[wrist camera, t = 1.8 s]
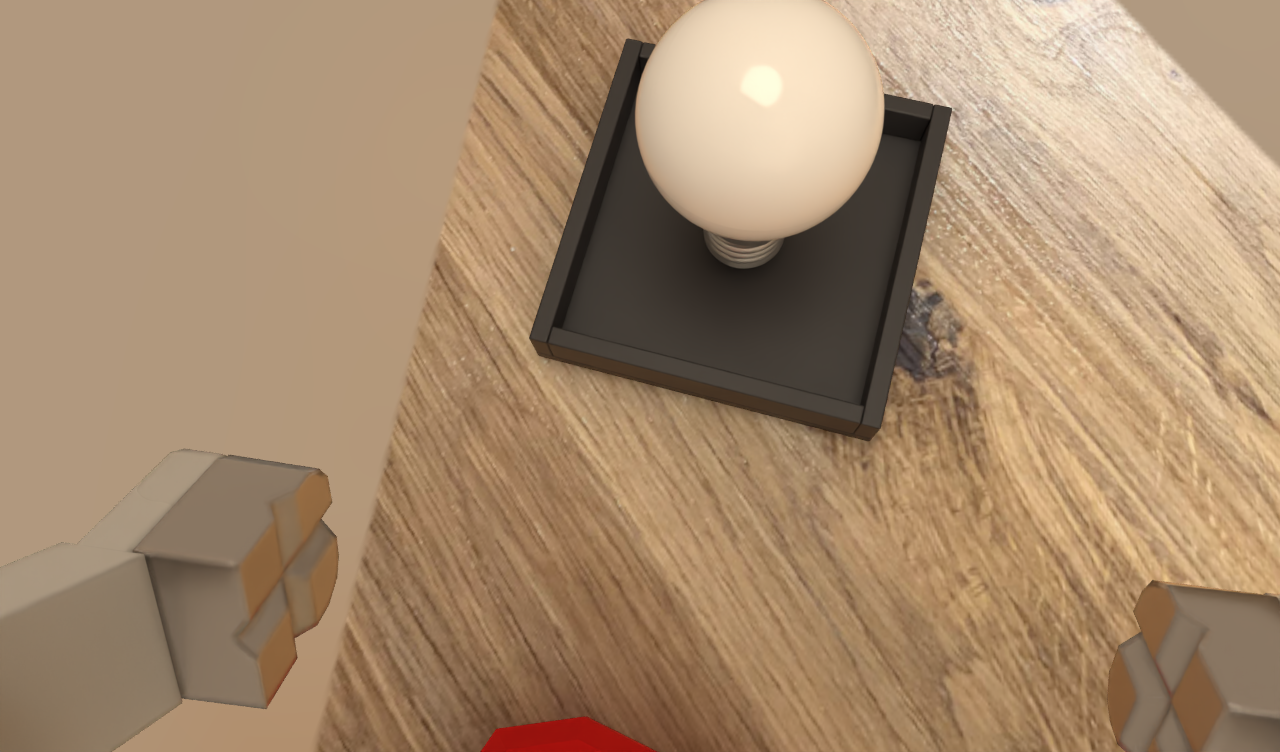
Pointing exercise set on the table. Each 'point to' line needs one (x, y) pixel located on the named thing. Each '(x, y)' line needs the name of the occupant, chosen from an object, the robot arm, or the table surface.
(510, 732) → the heart
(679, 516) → the table surface
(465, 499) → the table surface
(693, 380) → the tray
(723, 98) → the lightbulb
